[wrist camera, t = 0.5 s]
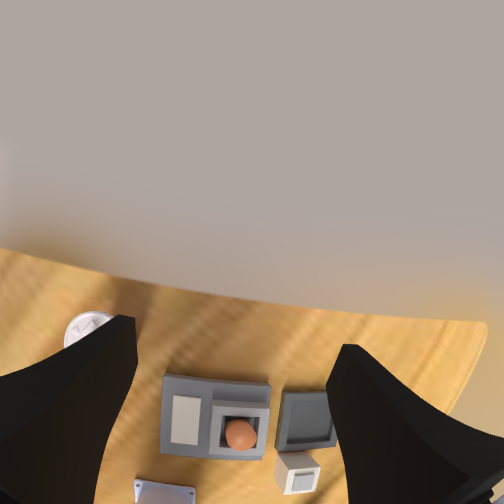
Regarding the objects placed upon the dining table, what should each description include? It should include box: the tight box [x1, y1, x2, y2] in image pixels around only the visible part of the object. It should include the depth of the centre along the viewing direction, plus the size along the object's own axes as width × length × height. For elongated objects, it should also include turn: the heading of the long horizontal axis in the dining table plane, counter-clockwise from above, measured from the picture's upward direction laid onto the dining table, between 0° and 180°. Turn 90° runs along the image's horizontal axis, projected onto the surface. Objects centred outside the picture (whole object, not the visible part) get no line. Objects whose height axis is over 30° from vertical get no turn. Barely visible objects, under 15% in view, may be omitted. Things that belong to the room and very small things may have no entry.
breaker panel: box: [160, 373, 271, 460], centre depth 28 cm, size 10×12×4 cm
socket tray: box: [275, 390, 337, 451], centre depth 31 cm, size 8×8×1 cm
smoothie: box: [64, 311, 137, 348], centre depth 23 cm, size 6×6×14 cm
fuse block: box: [273, 451, 321, 495], centre depth 27 cm, size 4×4×6 cm
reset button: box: [224, 417, 257, 451], centre depth 26 cm, size 3×3×3 cm
